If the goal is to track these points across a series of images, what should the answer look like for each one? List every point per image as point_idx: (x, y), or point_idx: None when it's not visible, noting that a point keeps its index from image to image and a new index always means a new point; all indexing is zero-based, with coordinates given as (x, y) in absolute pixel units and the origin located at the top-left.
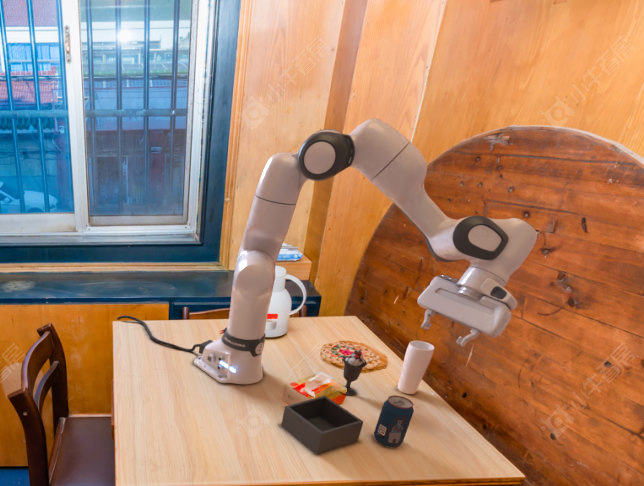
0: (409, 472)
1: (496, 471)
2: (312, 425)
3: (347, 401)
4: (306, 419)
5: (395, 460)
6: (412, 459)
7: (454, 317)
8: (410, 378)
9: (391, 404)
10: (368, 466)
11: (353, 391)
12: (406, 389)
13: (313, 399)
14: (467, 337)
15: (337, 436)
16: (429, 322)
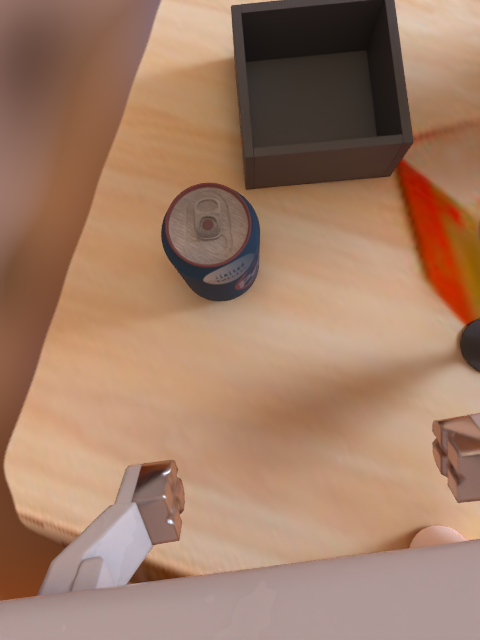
0: (99, 223)
1: (19, 441)
2: (276, 5)
3: (431, 304)
4: (375, 119)
5: (147, 225)
6: (135, 270)
7: (297, 569)
8: None
9: (206, 183)
10: (152, 145)
11: (476, 360)
12: (424, 535)
13: (402, 92)
14: (105, 514)
15: (237, 85)
16: (461, 453)
